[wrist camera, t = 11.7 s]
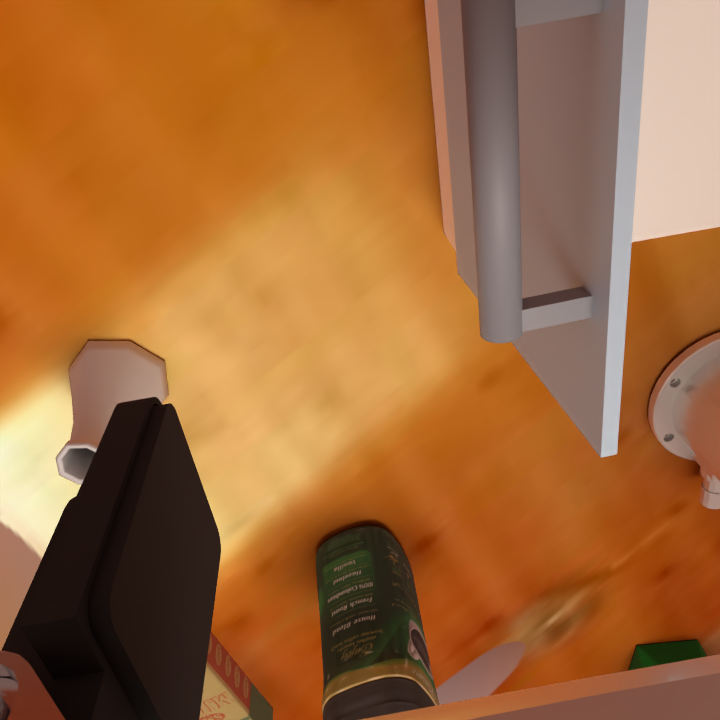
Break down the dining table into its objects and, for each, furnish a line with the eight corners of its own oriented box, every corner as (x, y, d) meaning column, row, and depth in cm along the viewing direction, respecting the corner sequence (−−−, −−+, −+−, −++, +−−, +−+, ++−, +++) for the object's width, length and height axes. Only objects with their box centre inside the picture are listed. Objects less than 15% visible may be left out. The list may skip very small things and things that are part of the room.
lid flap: (616, 454, 23) (501, 479, 23) (467, 270, 39) (398, 284, 38) (671, -323, 13) (466, -292, 13) (439, -147, 28) (345, -132, 28)
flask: (158, 430, 50) (130, 520, 42) (61, 406, 49) (11, 495, 40) (181, 353, 47) (156, 433, 39) (78, 324, 45) (28, 402, 37)
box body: (699, 188, 45) (763, 219, 39) (444, 233, 45) (468, 270, 39) (742, -178, 35) (838, -214, 29) (414, -122, 35) (440, -147, 28)
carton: (205, 618, 62) (200, 658, 58) (275, 706, 70) (275, 746, 66) (127, 646, 63) (118, 687, 59) (205, 729, 71) (201, 770, 67)
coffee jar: (301, 541, 58) (306, 753, 42) (383, 510, 57) (420, 714, 41) (345, 606, 62) (365, 819, 46) (421, 578, 61) (468, 785, 45)
